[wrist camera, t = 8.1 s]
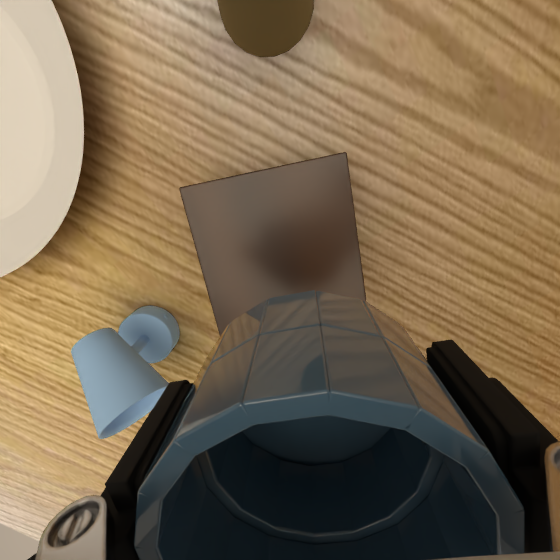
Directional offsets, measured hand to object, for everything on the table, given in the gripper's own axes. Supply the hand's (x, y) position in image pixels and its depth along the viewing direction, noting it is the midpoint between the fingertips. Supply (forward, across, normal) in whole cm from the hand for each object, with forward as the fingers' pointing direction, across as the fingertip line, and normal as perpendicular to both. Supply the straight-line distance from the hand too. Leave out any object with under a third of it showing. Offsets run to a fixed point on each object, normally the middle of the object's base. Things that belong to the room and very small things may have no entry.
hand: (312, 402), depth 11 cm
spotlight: (+16, +13, +3) cm, 21 cm away
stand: (+16, +1, -3) cm, 16 cm away
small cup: (+1, 0, 0) cm, 1 cm away
